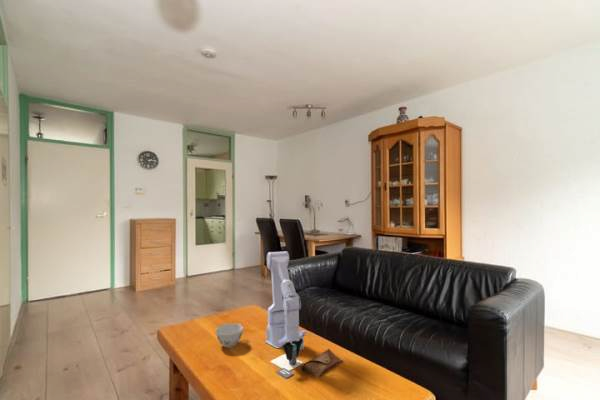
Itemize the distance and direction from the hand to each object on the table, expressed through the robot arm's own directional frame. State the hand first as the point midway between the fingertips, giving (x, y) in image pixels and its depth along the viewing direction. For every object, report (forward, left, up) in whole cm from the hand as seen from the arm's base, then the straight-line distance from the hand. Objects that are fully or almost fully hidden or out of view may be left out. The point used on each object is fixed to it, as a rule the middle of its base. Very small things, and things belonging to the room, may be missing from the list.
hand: (292, 357), depth 124 cm
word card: (+3, -7, -2) cm, 8 cm away
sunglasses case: (+10, +8, -3) cm, 13 cm away
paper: (-3, -1, -2) cm, 4 cm away
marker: (0, 0, -2) cm, 2 cm away
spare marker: (-7, +12, -2) cm, 14 cm away
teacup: (-34, -8, -3) cm, 35 cm away
